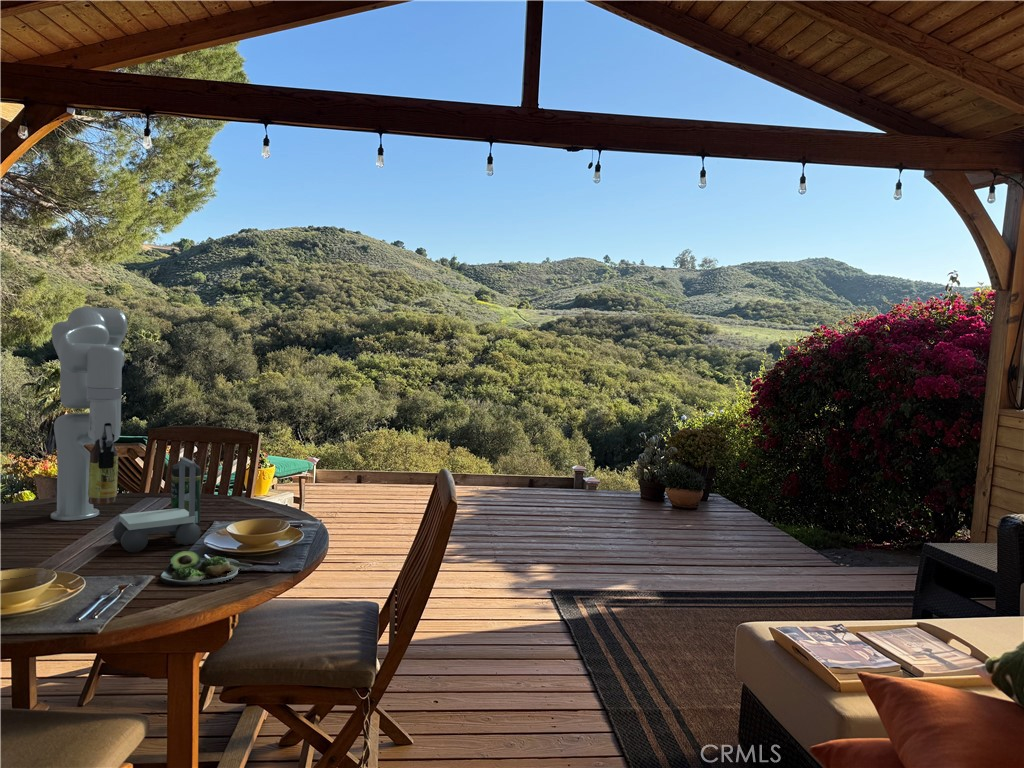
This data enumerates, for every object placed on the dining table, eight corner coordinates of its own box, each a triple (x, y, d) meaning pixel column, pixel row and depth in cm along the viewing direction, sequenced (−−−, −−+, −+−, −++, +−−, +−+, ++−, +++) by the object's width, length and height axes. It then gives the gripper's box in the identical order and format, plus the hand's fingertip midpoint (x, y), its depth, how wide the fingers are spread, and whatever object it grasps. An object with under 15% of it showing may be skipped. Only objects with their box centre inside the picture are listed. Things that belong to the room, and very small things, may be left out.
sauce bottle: (103, 506, 171) (104, 426, 170) (81, 504, 172) (82, 425, 171) (123, 501, 178) (124, 424, 177) (102, 499, 179) (103, 422, 178)
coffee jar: (168, 521, 212) (169, 460, 211) (196, 518, 216) (197, 459, 215) (173, 528, 204) (174, 465, 203) (202, 525, 208) (203, 464, 207)
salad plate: (256, 562, 177) (256, 544, 177) (245, 586, 159) (246, 566, 159) (174, 564, 172) (174, 545, 172) (154, 589, 155) (154, 568, 155)
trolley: (112, 543, 187) (113, 461, 186) (187, 533, 199) (189, 456, 198) (122, 554, 178) (123, 468, 177) (200, 543, 190) (201, 462, 189)
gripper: (81, 392, 178) (80, 462, 179) (93, 397, 165) (92, 472, 166) (114, 392, 183) (113, 459, 184) (128, 397, 170) (127, 470, 170)
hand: (103, 465), depth 175 cm, fingers closed on sauce bottle, 6 cm apart
